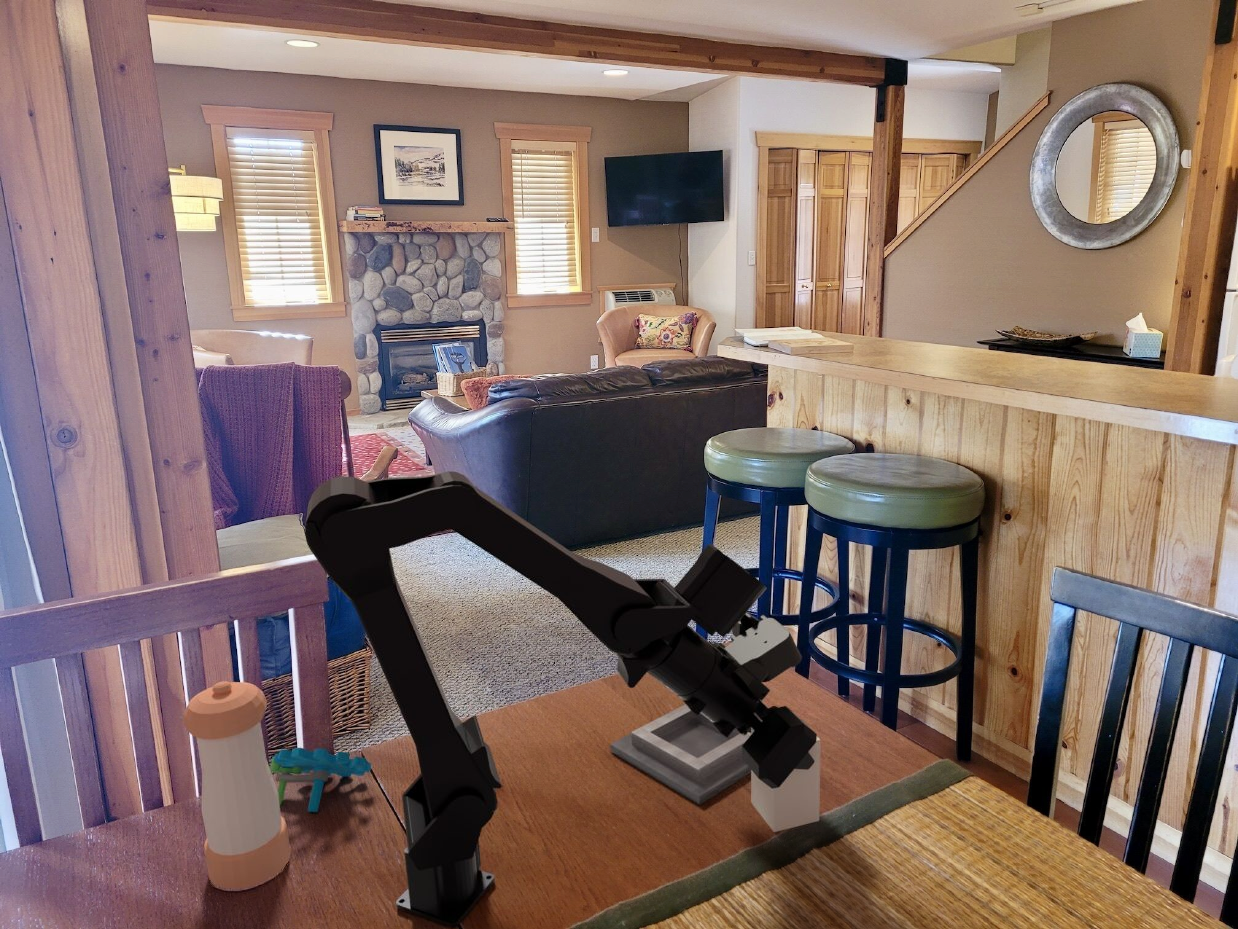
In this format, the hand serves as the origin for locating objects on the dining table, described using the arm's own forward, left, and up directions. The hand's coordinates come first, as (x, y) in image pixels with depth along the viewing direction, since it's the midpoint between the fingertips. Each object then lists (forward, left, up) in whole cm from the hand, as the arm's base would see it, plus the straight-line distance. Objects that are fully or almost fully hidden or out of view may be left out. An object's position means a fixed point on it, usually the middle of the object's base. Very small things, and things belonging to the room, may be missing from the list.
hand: (797, 750), depth 86 cm
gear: (-16, +48, -7) cm, 51 cm away
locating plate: (+6, +13, -7) cm, 16 cm away
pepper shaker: (-28, +46, -7) cm, 54 cm away
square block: (-1, +1, -7) cm, 7 cm away
